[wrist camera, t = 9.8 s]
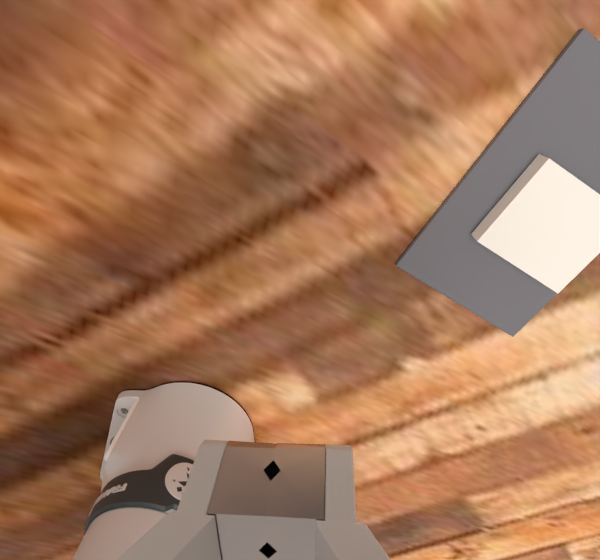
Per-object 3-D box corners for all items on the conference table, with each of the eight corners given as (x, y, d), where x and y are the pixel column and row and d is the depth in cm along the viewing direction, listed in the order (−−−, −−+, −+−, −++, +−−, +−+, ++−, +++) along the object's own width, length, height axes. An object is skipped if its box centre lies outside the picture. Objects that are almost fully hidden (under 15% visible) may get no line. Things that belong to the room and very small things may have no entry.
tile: (470, 233, 38) (547, 283, 40) (477, 241, 36) (557, 293, 38) (537, 153, 35) (618, 211, 36) (549, 158, 33) (634, 219, 34)
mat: (510, 333, 43) (513, 336, 42) (395, 263, 40) (396, 265, 40) (711, 135, 34) (717, 136, 33) (579, 29, 31) (583, 28, 31)
